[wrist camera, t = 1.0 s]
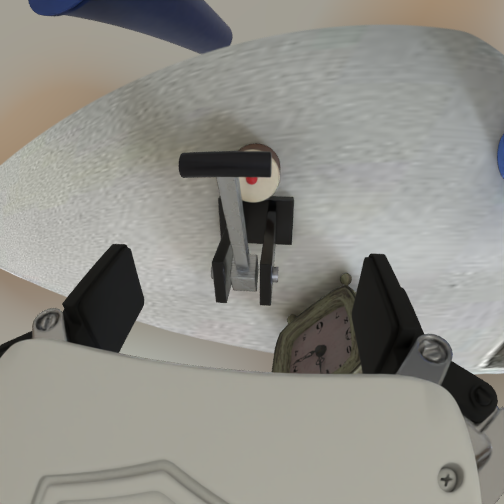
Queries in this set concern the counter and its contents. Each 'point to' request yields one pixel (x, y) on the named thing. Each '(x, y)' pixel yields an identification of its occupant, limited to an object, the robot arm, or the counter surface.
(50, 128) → the counter surface
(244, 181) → the cake
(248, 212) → the black upright frame
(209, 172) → the lever
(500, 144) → the blue bottle
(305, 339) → the tabletop clock
